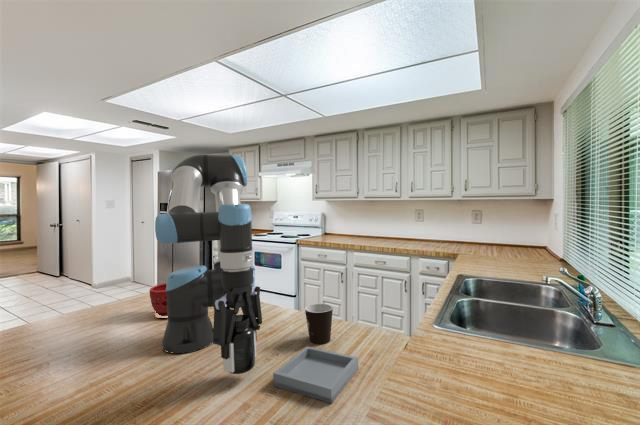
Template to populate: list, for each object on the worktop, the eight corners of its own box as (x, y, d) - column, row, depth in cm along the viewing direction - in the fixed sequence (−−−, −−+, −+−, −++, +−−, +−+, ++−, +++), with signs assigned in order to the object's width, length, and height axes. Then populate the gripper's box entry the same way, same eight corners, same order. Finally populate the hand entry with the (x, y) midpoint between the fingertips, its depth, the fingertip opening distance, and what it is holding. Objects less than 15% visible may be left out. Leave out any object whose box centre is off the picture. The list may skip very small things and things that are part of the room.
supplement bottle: (237, 358, 78) (235, 311, 78) (260, 362, 76) (258, 314, 76) (219, 372, 72) (217, 321, 72) (244, 377, 70) (242, 325, 69)
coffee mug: (331, 347, 90) (330, 313, 89) (302, 345, 91) (301, 312, 91) (337, 331, 101) (336, 301, 101) (311, 330, 103) (310, 300, 102)
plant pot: (156, 312, 127) (154, 283, 127) (189, 308, 130) (188, 280, 130) (146, 323, 114) (144, 291, 114) (184, 319, 118) (182, 288, 117)
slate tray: (273, 385, 71) (273, 373, 71) (307, 357, 84) (306, 346, 84) (331, 403, 64) (331, 389, 64) (358, 369, 77) (358, 357, 77)
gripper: (216, 279, 63) (220, 389, 63) (274, 261, 80) (277, 348, 81) (191, 276, 66) (195, 380, 67) (252, 259, 84) (255, 342, 84)
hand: (240, 362), depth 74 cm, fingers closed on supplement bottle, 7 cm apart
